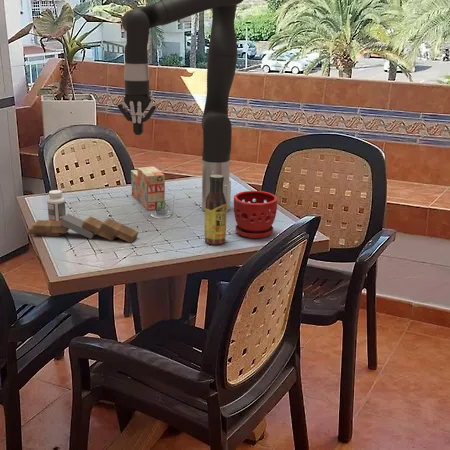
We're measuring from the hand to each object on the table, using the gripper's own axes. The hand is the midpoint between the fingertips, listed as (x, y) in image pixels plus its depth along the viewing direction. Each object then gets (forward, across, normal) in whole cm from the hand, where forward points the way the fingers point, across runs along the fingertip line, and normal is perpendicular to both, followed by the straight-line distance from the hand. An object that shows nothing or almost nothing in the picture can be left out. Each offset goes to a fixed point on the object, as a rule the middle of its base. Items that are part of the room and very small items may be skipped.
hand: (138, 134), depth 205 cm
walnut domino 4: (+26, -6, +22) cm, 35 cm away
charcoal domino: (+26, +7, +22) cm, 35 cm away
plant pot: (+27, -39, +8) cm, 48 cm away
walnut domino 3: (+26, 0, +22) cm, 34 cm away
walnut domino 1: (+25, +15, +22) cm, 36 cm away
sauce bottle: (+27, -29, +18) cm, 44 cm away
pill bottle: (+27, +24, +11) cm, 38 cm away
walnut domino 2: (+27, +17, +22) cm, 38 cm away
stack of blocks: (+27, +3, -18) cm, 33 cm away
